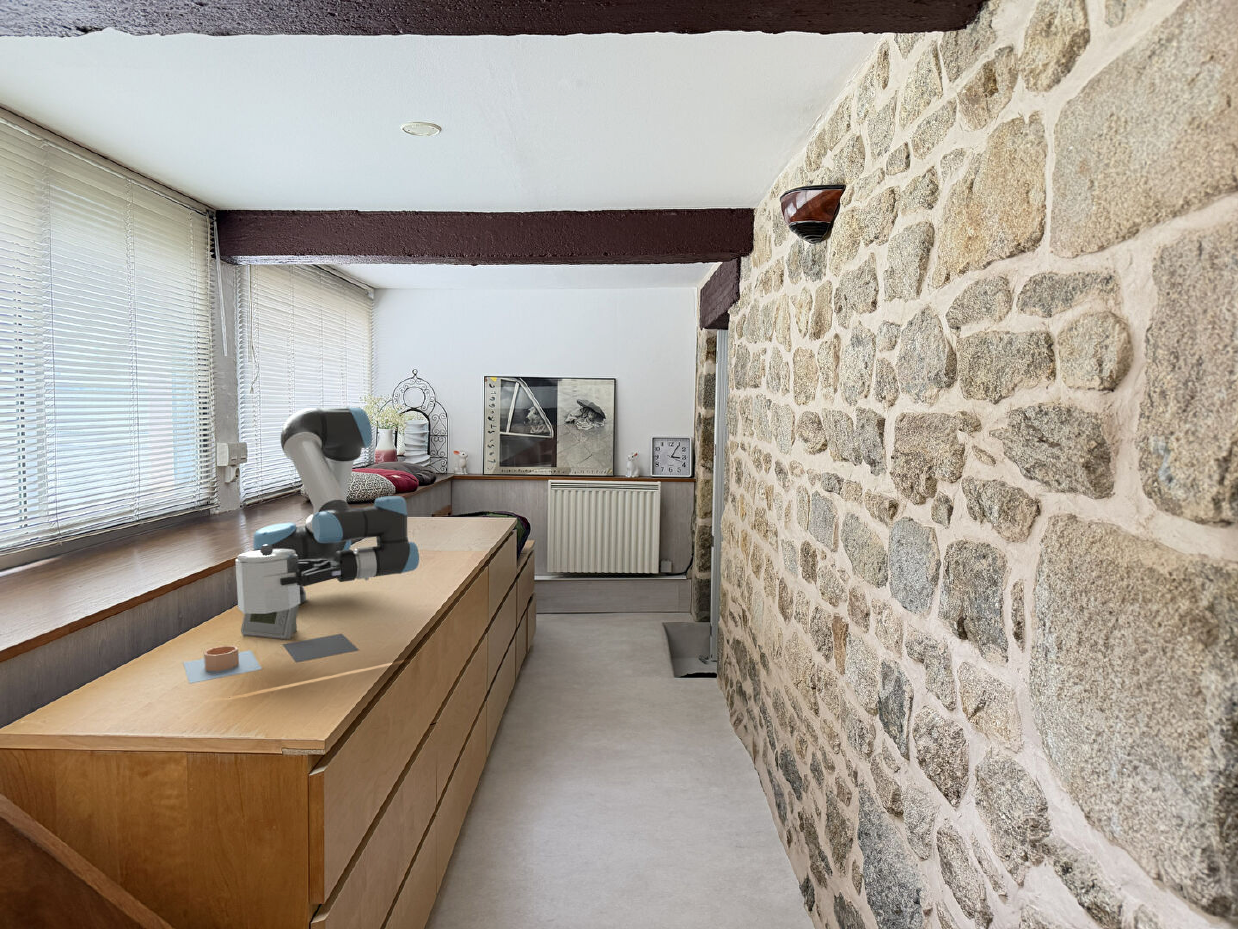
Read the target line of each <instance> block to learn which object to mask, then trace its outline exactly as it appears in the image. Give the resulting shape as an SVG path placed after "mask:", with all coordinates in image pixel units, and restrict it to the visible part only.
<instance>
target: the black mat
mask: <svg viewBox="0 0 1238 929" xmlns="http://www.w3.org/2000/svg"><path fill="white" fill-rule="evenodd" d="M282 646H283V648H284V649H285V650H286V652H287V653H288V654H289V656H291V658H292V660H294V662H295V663H301V662H306V661H312V660H315V659H322V658H327V657H331V656H336V655H342V654H347V653H351V652H357V651H360V650H359V648H358V647H357V646H355V644H354V643H352V642H351V640H349V639H348V638H347V637H346V636H345V635H344V634H343V633H338V634H331V635H328V636H327V635H326V636H320V637H316V638H310V639H305V640H299V641H293V642H288V643H283V644H282Z"/></svg>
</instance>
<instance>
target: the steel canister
mask: <svg viewBox="0 0 1238 929" xmlns="http://www.w3.org/2000/svg"><path fill="white" fill-rule="evenodd" d="M296 571H299V567H298V555H296V553H295V550H292V549H273V548H272V546H271V545H268V544H265V545H263V546H262V547H261V549H260V550H257V551H254V550H253V551H248V552H247V551H246V552H244V553H241V554H238V555H237V558H236V559H235V573H236V575H235V576H236V590H237V591H236V593H237V594H236V595H237V605H238V606H237V608H238V610H239V611H241V612H242V613H243V614H267V613H272V612H277V611H283V610H288V609H291V608H293V607H294V606H296V605H298V604H299V605H301V604H300V585H297V583H296V585H293V586H286V587H279V588H273V589H266V590H264V586H263V577H267V576H274V575H281V574H288V573H295V576H296Z"/></svg>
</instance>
